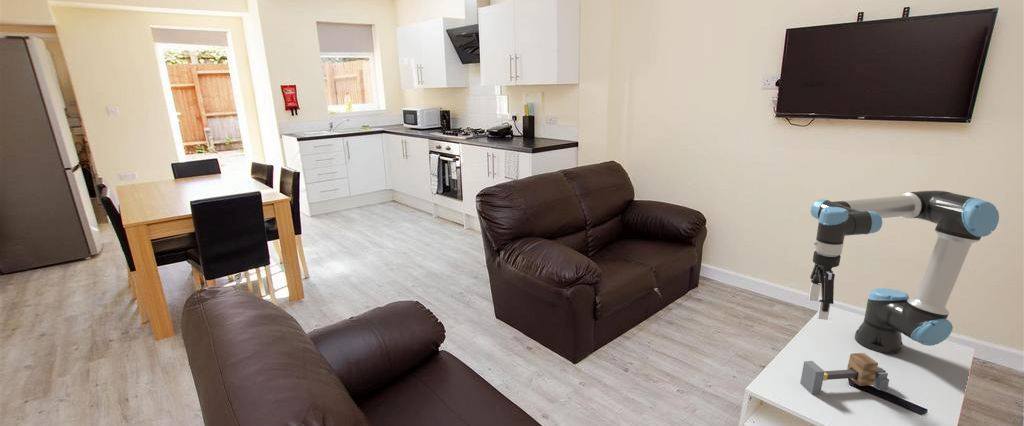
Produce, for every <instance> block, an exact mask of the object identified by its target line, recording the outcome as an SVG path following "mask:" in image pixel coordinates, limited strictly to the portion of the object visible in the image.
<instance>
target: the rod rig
mask: <svg viewBox="0 0 1024 426" xmlns="http://www.w3.org/2000/svg"><path fill="white" fill-rule="evenodd" d="M801 371H802V372H801V376H800V377H801V378H800V381H799V382H800V383H799V384H800V385H801V386H802V387H803V388H805V390H806V391H808V392H809V394H811V395H819V394H820V395H821V392H822V387H823V382H824V381H828V380H842V379H845V380H846V379H850V378H858V375H859V373H858V372H857V371H855V370H854V369H851V370H847V369H841V370H840V369H838V370H837V369H836V370H823V368H822V367H820V366H819V365H818V364H817V363H816V362H815V361H814V360H806V361H805V360H804V361H803V366H802V370H801ZM888 375H889V373H888V372H887V371H886V370H885V369H884V368H882V367H880V366H879V365H878V367H877V371H876V375H875V379H874V383H873V385H872V387H874V388H875V387H876V388H875V389H877V388H878V389H880V390H879V391H886V390H888V386H889V383H890V379H889V378H888ZM878 389H877V390H878Z"/></svg>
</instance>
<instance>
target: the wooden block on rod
mask: <svg viewBox="0 0 1024 426" xmlns="http://www.w3.org/2000/svg"><path fill="white" fill-rule="evenodd" d="M878 366H879V362H878V361H876V360H875V359H873V357H870V355H868V354H867V353H866V352H858V353H850V355H849V359H848V363H847V368H846V370H851V369H854V370H855V371H857V372H858V373H859V375H858V378H849V379H850V380H851V381H853V382H854V383H855V385H858V387H859V386H860V387H862V386H863V387H865V386H873V383H874V379H875V375H876V371H877V367H878Z"/></svg>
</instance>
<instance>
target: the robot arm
mask: <svg viewBox="0 0 1024 426" xmlns="http://www.w3.org/2000/svg"><path fill="white" fill-rule="evenodd" d="M810 214H811V217H813V218H815V219H816V220H817V221H818V225H817V229H816V230H817V231H816V232H817V233H816V238H815V242H813V246H815V247H814V251H813V256H812V262H813V263H814V266H813V268H812V272H811V275H810V276H809V278H810V279H811V280H810V282H811V284H810V291H809V296H808V301H811V302H818V301H819V308H818V313H817V319H818V320H823V321H828V319H829V314H830V308H831V305H834V293H835V292H834V289H835V287H834V286H835V285H834V284H835V277H836V275H835V273H834V272H833V270H832V269H833V268H837V267H839V266H840V263H841V255H842V252H843V248H844V247H843V246H844V241H845V237H846V236H847V237H849V236H856V235H857V236H859V235H869V234H874V233H875V234H876V233H877V232H879V231H880V230H881V229H882V226H883V219H888V218H899V217H902V218H904V219H918V220H923V221H927V222H930V223H933V224H935V225H936V226H935V228H934V232H935V233H936V234H937V236H938V237H937V239H936V241H935V244H934V246H933V250H932V252H931V254H930V257H929V260H928V262H927V264H926V267H925V269H924V271H923V272H924V273H923V274H922V277H921V280H920V283H919V284H918V287H917V289H916V292H915V293H914V294H915V295H914V297H911V298H910V296H909V294H908V293H906V292H905V291H901V290H897V289H893V288H881V287H880V288H874V289H872V290H871V291H870V293H869V296H868V298H867V304H866V308H865V309H866V310H865V313H864V317H863V318H864V319H863V322H862V323H861V324H860V326H859V327H858V329H857V330H855V333H854V340H855V341H856V342H857V343H858V344H859V345H861V346H862V347H864V348H866V349H868V350H870V351H874V352H876V353H877V352H878V353H881V354H882V353H883V354H888V355H889V354H890V355H891V354H892V355H893V354H894V355H896V354H899V353H901V352H902V350H903V347H904V344H903V339H902V335H904V336H906V337H907V338H909V339H911V340H912V341H914V342H917V343H918V344H919V343H920V344H921V345H923V346H929V347H930V346H932V347H933V346H935V345H938V344H941V343H942V342H944V341H946V340H947V339H948V338H949V337H950V335H951V334H952V332H953V328H954V327H953V324H952V322H951V321H950V320H949V319H948V316H949V314H950V312H949V310H948V309H947V308H946V306H947V304H948V302H949V299H950V296H951V294H952V292H953V289H954V287H955V285H956V283H957V280H958V278H959V275H960V272H961V270H962V267H963V265H964V263H965V260H966V259H967V256H968V253H969V251H970V248H971V247H972V245H973V244H975V243H977V242H980V241H981V238H983V237H984V238H985V237H987V236H989V235H991V234H992V232H994V231H995V230H996V228H997V227H998V225H999V223H1000V213H999V210H998V209H997V206H996V205H994V203H992V202H990V201H987V200H984V199H981V198H979V197H972V196H967V195H964V194H963V195H962V194H958V193H953V192H950V191H946V190H945V191H944V190H921V191H910V192H909V191H908V192H902V193H901V194H899V195H895V196H884V197H882V196H881V197H872V198H863V199H861V198H860V199H850V200H838V201H831V200H828V199H824V198H822V199H818V200H817V199H816V200H815V201H814V203H812V205H811V207H810ZM820 292H821V299H820V300H819V297H820Z"/></svg>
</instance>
